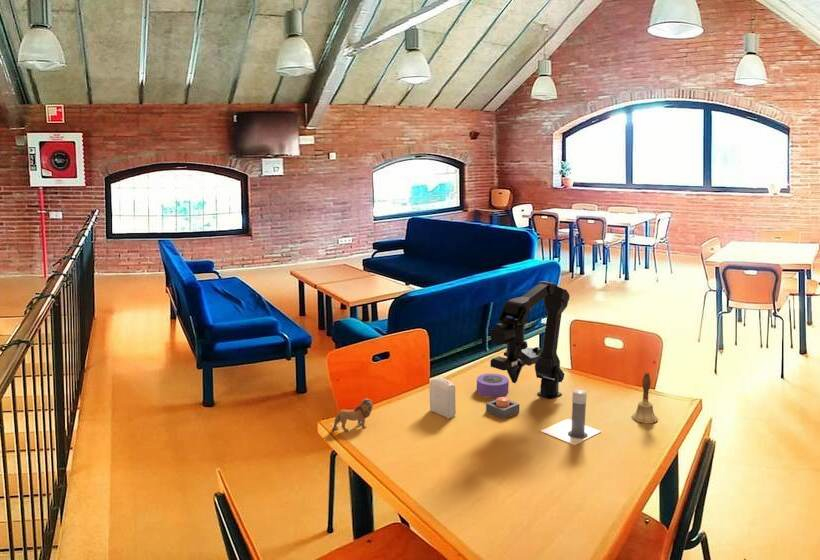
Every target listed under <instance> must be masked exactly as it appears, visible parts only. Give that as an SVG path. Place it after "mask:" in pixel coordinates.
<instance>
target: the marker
mask: <svg viewBox="0 0 820 560" xmlns="http://www.w3.org/2000/svg"><path fill="white" fill-rule="evenodd" d="M587 394H588V393H587V391H585V390H582V389H574V390H573V391H572V400H571V401H572V405H571V406H572V408H571V420H572V427H571V435H573V436H575V437H583V436H584V431H585V425H586V410H587V409H586V407H587V405H586V404H587Z"/></svg>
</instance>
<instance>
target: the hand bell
mask: <svg viewBox="0 0 820 560" xmlns="http://www.w3.org/2000/svg"><path fill="white" fill-rule="evenodd" d="M641 383H642V390H643V393H642V400H640V401H639V402H637V403H638V404H637V407H636V410H635V412H634V413H633V414H631V419H632V418H633V419H634V420H636V421H638V422H637V423H639V422H642V423H641V424H645V423H651V424H655V423H657V422H658V421H657V420H659V419H658V417H657V415H656V414H655V412H654V408H653V403H652V402H650V401H649V391H650V388H651V383H652V381H651V377H650V373H649V372H644V375H643V377H642V381H641ZM633 419H632V420H633ZM634 420H633V421H634ZM636 421H635V422H636ZM656 421H657V422H656ZM654 422H655V423H654Z"/></svg>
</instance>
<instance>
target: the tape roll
mask: <svg viewBox="0 0 820 560" xmlns="http://www.w3.org/2000/svg"><path fill="white" fill-rule="evenodd" d="M509 379H510V378H508V377H507V376H505V375H504V374H500V373H492V372H491V373H483V374H480V375H478V376H477V377H476V393H477V394H478V395H480V396H483V397H485V396H486V397H487V398H498V397H506V396H507V395H508V394H509V388H510V387H509V384H510V383H509Z"/></svg>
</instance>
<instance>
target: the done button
mask: <svg viewBox="0 0 820 560" xmlns="http://www.w3.org/2000/svg"><path fill="white" fill-rule="evenodd" d="M495 398H496V399H495V400H496V406H499V407H501V408H506V407H508V406H510V401H511V399H510V398H508V397H506V396H502V397H495Z"/></svg>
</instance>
